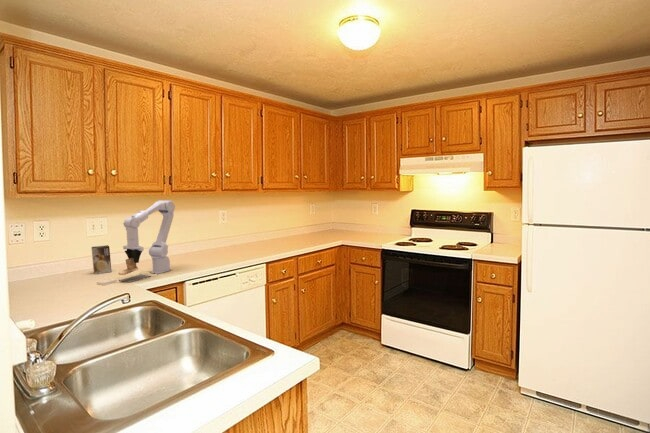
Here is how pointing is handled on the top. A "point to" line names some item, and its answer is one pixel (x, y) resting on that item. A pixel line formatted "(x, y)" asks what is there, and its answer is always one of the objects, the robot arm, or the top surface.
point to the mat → (134, 278)
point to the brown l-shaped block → (129, 267)
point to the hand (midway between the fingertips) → (134, 262)
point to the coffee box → (101, 259)
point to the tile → (106, 282)
